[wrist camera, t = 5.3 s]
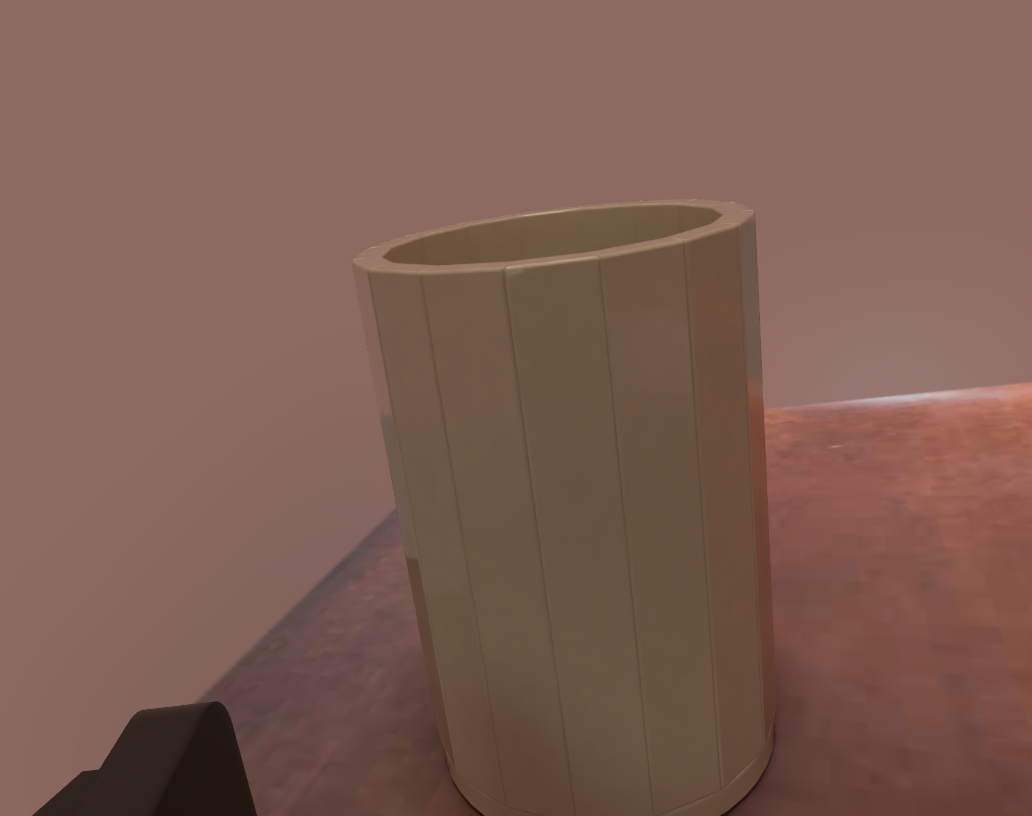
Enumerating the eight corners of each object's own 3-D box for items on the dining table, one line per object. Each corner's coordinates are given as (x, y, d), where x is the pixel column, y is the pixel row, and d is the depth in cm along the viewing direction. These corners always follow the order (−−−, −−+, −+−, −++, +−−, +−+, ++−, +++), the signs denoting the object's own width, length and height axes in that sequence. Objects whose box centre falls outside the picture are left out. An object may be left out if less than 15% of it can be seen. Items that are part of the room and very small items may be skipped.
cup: (510, 908, 14) (408, 291, 11) (409, 688, 20) (324, 246, 17) (849, 767, 16) (842, 209, 13) (667, 604, 22) (632, 193, 19)
